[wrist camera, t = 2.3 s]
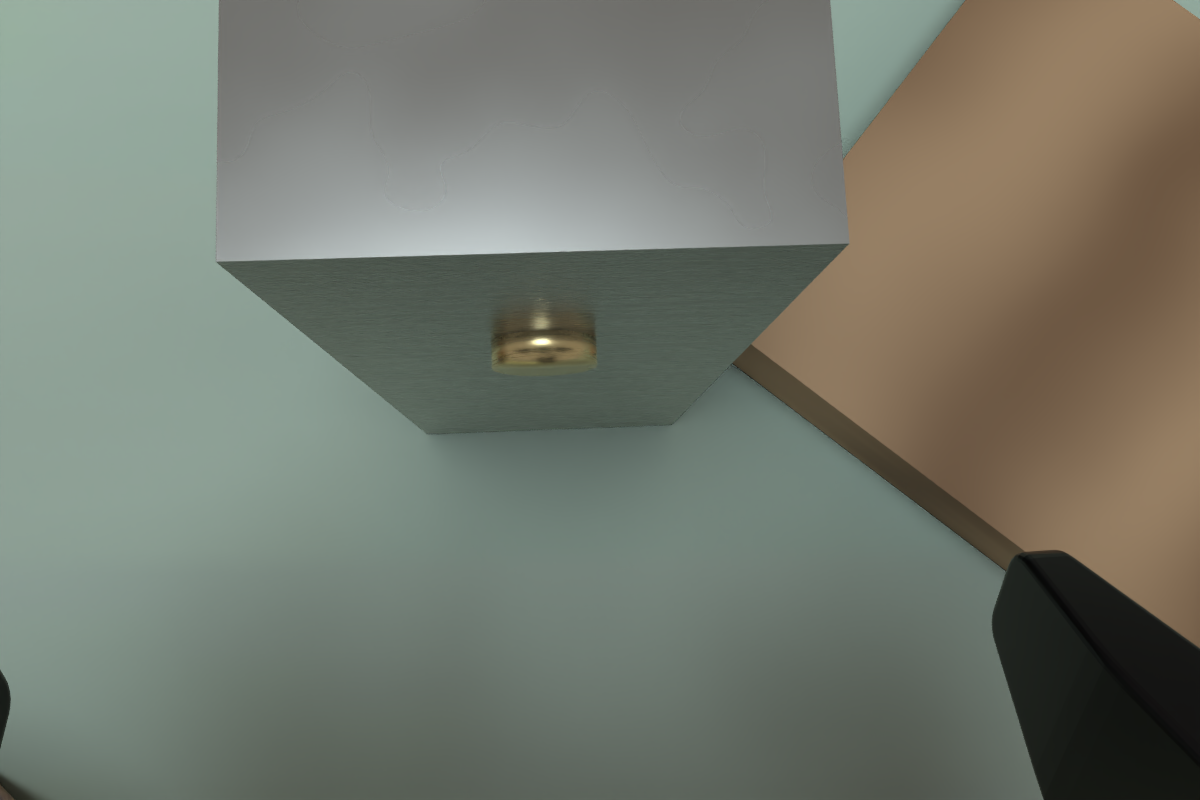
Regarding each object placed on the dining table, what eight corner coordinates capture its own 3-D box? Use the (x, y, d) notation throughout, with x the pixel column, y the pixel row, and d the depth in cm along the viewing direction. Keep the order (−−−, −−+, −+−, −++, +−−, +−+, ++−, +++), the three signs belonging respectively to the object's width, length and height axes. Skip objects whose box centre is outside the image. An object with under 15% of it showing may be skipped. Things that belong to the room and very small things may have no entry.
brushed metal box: (659, 191, 21) (804, -310, 9) (672, 439, 20) (853, 279, 8) (422, 198, 21) (223, -309, 8) (427, 448, 20) (215, 300, 8)
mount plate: (1444, 284, 21) (1535, 258, 19) (1177, 700, 20) (1245, 718, 18) (996, -39, 22) (1038, -95, 20) (703, 341, 20) (719, 319, 19)
